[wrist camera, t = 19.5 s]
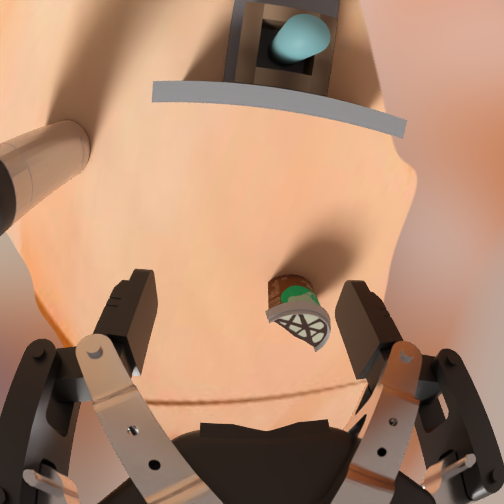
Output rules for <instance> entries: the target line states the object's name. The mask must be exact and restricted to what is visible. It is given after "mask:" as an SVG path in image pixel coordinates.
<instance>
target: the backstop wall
mask: <svg viewBox="0 0 504 504" xmlns="http://www.w3.org/2000/svg"><path fill="white" fill-rule="evenodd" d="M152 102H194V103H216V104H230V105H242V106H251V107H260V108H268V109H276V110H283V111H289V112H295V113H301V114H307V115H312V116H317V117H322V118H327V119H332V120H336V121H341V122H345V123H349V124H353V125H357V126H361V127H365V128H369V129H372V130H376V131H379V132H383V133H386V134H390V135H393V136H396V137H399V138H403V135H404V131H405V126H406V120H404V119H401V118H398V117H395V116H393V115H390V114H387V113H383V112H380V111H377V110H374V109H371V108H367V107H364V106H360V105H356V104H353V103H349V102H345V101H341V100H337V99H333V98H328V97H324V96H319V95H314V94H309V93H304V92H299V91H293V90H287V89H281V88H274V87H267V86H259V85H250V84H239V83H227V82H210V81H153V93H152Z"/></svg>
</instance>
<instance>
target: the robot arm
mask: <svg viewBox="0 0 504 504" xmlns="http://www.w3.org/2000/svg"><path fill="white" fill-rule="evenodd" d="M89 154H90V144H89V139H88V136H87V134H86V132H85V130H84V129H83V128H82V127H81V126H80V125H79V124H78V123H76V122H74V121H71V120H64V121H60V122H56V123H53V124H50V125H47V126H44V127H41V128H38V129H36V130H33V131H30V132H28V133H25V134H23V135H20V136H18V137H15V138H13V139H10V140H8V141H6V142H3V143H1V144H0V236H1V235H2V234H3V233H4V232H5V231H6V230H8V229H9V228H10V227H11V226H12V225H13V224H14V223H15V222H16V221H18V220H19V219H20V218H21V217H22V216H23V215H24V214H26V213H27V212H28V211H29V210H30V209H32V208H33V207H34V206H35V205H37V204H38V203H39V202H40V201H42V200H43V199H44V198H46V197H47V196H48V195H50V194H51V193H52V192H54V191H55V190H56V189H58V188H59V187H60V186H62V185H63V184H65V183H66V182H68V181H69V180H70V179H72V178H73V177H75V176H76V175H78V174H79V173H80V172H81V171H82V170H83V169H84V168H85V166H86V164H87V162H88V159H89ZM157 308H158V299H157V292H156V284H155V277H154V272H153V270H146V269H135V270H134V271H133V273H132V275H131V278H130V280H129V281H128V280H122V281H121V282H120V283H119V284H118V285H116V286H115V287H114V289H113V291H112V293H111V295H110V299H108V301H107V303H106V306H105V308H104V310H103V312H102V314H101V316H100V319H99V321H98V323H97V325H96V328H95V330H94V332H93V334H91V335H88V336H86V337H84V338H83V339H82V340H81V341H80V342H79V343H78V345H77V346H76V347H69V348H60V349H59V348H58V349H56V348H55V346H54V344H53V343H52V342H51V341H49V340H47V339H38V340H35V341H33V342H32V343H31V344H30V345H29V346H28V347H27V348H26V350H25V352H24V354H23V357H22V359H21V362H20V364H19V366H18V368H17V371H16V373H15V376H14V379H13V381H12V384H11V386H10V389H9V392H8V395H7V398H6V401H5V404H4V407H3V410H2V413H1V416H0V504H80V502H79V497H78V490H77V488H76V486H75V484H74V483H73V481H72V480H71V479H69V478H68V470H69V462H70V455H71V449H72V443H73V437H74V432H75V427H76V422H77V418H78V413H79V409H80V404H81V402H82V401H93V402H94V403H93V407H94V410H95V412H96V414H97V417H98V419H99V421H100V423H101V425H102V427H103V429H104V431H105V433H106V435H107V437H108V439H109V441H110V443H111V445H112V447H113V449H114V450H115V452H116V454H117V456H118V458H119V459H120V461H121V463H122V465H123V466H124V468H125V470H126V471H127V473H128V474H129V476H130V477H129V478H128V479H127V480H126V481H125V482H123V483H122V484H121V485H120V486H119V487H118V488H117V489H115V490H114V491H113V492H111V493H110V494H109V495H108V496H106V497H105V498H104V499H103V500H101V501H100V502H99V503H98V504H470V503H473V502H475V501H478V500H480V499H482V498H484V497H487V496H489V495H491V494H493V493H495V492H497V491H498V490H499V489H500V488H501V487H502V485H503V483H504V463H503V460H502V457H501V453H500V450H499V447H498V444H497V441H496V438H495V435H494V432H493V429H492V427H491V424H490V421H489V419H488V416H487V414H486V411H485V409H484V406H483V404H482V402H481V399H480V397H479V395H478V392H477V390H476V388H475V386H474V384H473V381H472V379H471V377H470V375H469V373H468V371H467V369H466V367H465V365H464V363H463V361H462V359H461V357H460V356H459V355H458V354H457V353H456V352H455V351H453V350H451V349H442V350H441V351H440V352H439V353H438V355H437V356H436V357H433V356H428V355H422V354H421V352H420V350H419V349H418V348H417V347H416V346H415V345H414V344H412V343H410V342H407V341H403V339H402V337H401V335H400V333H399V331H398V329H397V327H396V325H395V323H394V322H393V320H392V318H391V317H390V314H389V313H388V311H387V310H386V307H385V305H384V303H383V302H382V300H381V299H380V298H379V297H378V296H377V295H376V294H375V293H374V292H370V290H369V288H368V287H367V285H366V283H365V282H364V281H360V280H347V281H346V282H345V284H344V286H343V289H342V292H341V295H340V297H339V300H338V303H337V305H336V309H335V319H336V322H337V325H338V328H339V330H340V333H341V336H342V339H343V342H344V344H345V347H346V350H347V353H348V356H349V359H350V362H351V365H352V368H353V371H354V374H355V377H356V380H357V379H365V378H366V379H367V382H368V383H367V384H366V386H365V387H364V390H363V392H362V394H361V397H360V399H359V401H358V403H357V405H356V408H355V410H354V412H353V414H352V416H351V418H350V420H349V422H348V423H347V425H346V426H345V427H344V429H343V430H341V429H338V428H333V427H329V423H328V419H326V420H317V421H307V422H298V423H295V424H291V425H288V426H285V427H282V428H278V429H275V430H271V431H261V430H256V429H252V428H247V427H243V426H238V425H234V424H213V423H200V430H197V431H192V432H189V433H185V434H183V435H180V436H178V437H176V438H174V439H173V440H170V439H169V437H168V436H167V435H166V433H165V432H164V430H163V429H162V427H161V426H160V424H159V423H158V421H157V420H156V418H155V417H154V415H153V414H152V412H151V410H150V409H149V407H148V406H147V404H146V402H145V401H144V399H143V397H142V396H141V394H140V392H139V391H138V389H137V387H136V386H135V385H134V384H133V382H132V380H131V377H132V375H134V376H141V373H142V368H143V364H144V360H145V356H146V352H147V348H148V344H149V340H150V336H151V332H152V328H153V325H154V321H155V317H156V314H157ZM441 393H442V394H443V396H444V399H445V402H446V404H447V407H448V410H449V414H448V418H447V419H445V416H444V413H443V410H442V408H441V405H440V402H439V400H438V396H439V395H440V394H441ZM414 424H415V428H416V431H417V435H418V438H419V442H420V445H421V449H422V453H423V457H424V461H425V465H426V469H427V471H426V473H425V476H424V479H423V480H422V481H421V483H420V484H421V485H419V484H417V483H416V482H414V481H413V480H412V479H410V478H409V477H407V476H406V475H405V474H403V473H402V472H401V471H399V468H400V466H401V463H402V460H403V458H404V455H405V452H406V449H407V446H408V443H409V440H410V437H411V433H412V430H413V426H414Z"/></svg>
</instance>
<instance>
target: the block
mask: <svg viewBox="0 0 504 504" xmlns="http://www.w3.org/2000/svg"><path fill="white" fill-rule="evenodd" d="M298 14H310V15H314V16H316V17H318V18H319V19H321V20H322V21H323V22H324V23H325V24H326V25H327V27H328V29H329V31H330V42H329V45H328V46H327V47H326V49H324V50H323V51H322V52H320V53H317V54H315V55H313V56H310V57H308V58H306V59H305V62H304V69H303V74H299V73H294V72H288V71H282V70H275V69H268V68H261V67H256V62H257V55H258V48H259V41H260V34H261V28H264V29H271V30H278V31H280V30H281V28H282V27H283V26H284V24H285V23H286V22H287V21H288V20H289V19H290V18H291V17H293V16H295V15H298ZM337 21H338V18H334V17H331V16H327V15H323V14H319V13H315V12H310V11H306V10H301V9H296V8H291V7H285V6H279V5H272V4H264V3H256V2H246V4H245V10H244V17H243V23H242V30H241V37H240V44H239V52H238V59H237V67H236V75H235V83H239V84H250V85H259V86H267V87H274V88H281V89H287V90H293V91H299V92H304V93H309V94H314V95H319V96H327V92H328V86H329V79H330V73H331V66H332V59H333V52H334V45H335V37H336V30H337Z"/></svg>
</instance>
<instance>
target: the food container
mask: <svg viewBox="0 0 504 504" xmlns="http://www.w3.org/2000/svg"><path fill="white" fill-rule="evenodd" d="M268 302H269V310H267V311H266V315H267V319H268V320H269V323H271V322H273V321H274V322H276V323H278V324H279V325H281V326H282V327H284V328H285V329H286V330H287V331H289V332H290V333H291V334H292V335H294V336H295V337H297V338H299V339H302V340H304V341H305V342H307V343H309V344H310V345H312V346H313V347H314V349H315V352H317V351H318V350H320V349H321V348H322V347H323V346H324V345H325V344H326V342H327V340H328V338H329V334H330V330H331V327H330V317H329V314H328V313H327V311H326V310H325V309H324V308H322V307H321V306H320V303H319V301H318V299H317V296H316V294H315V292H314V290H313V287H312V285H311V284H310V282H309V281H308V280H307V279H305V278H304V277H302V276H298V275H283V276H279V277H277V278H275V279H273V280H271V281H270V282H268Z"/></svg>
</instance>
